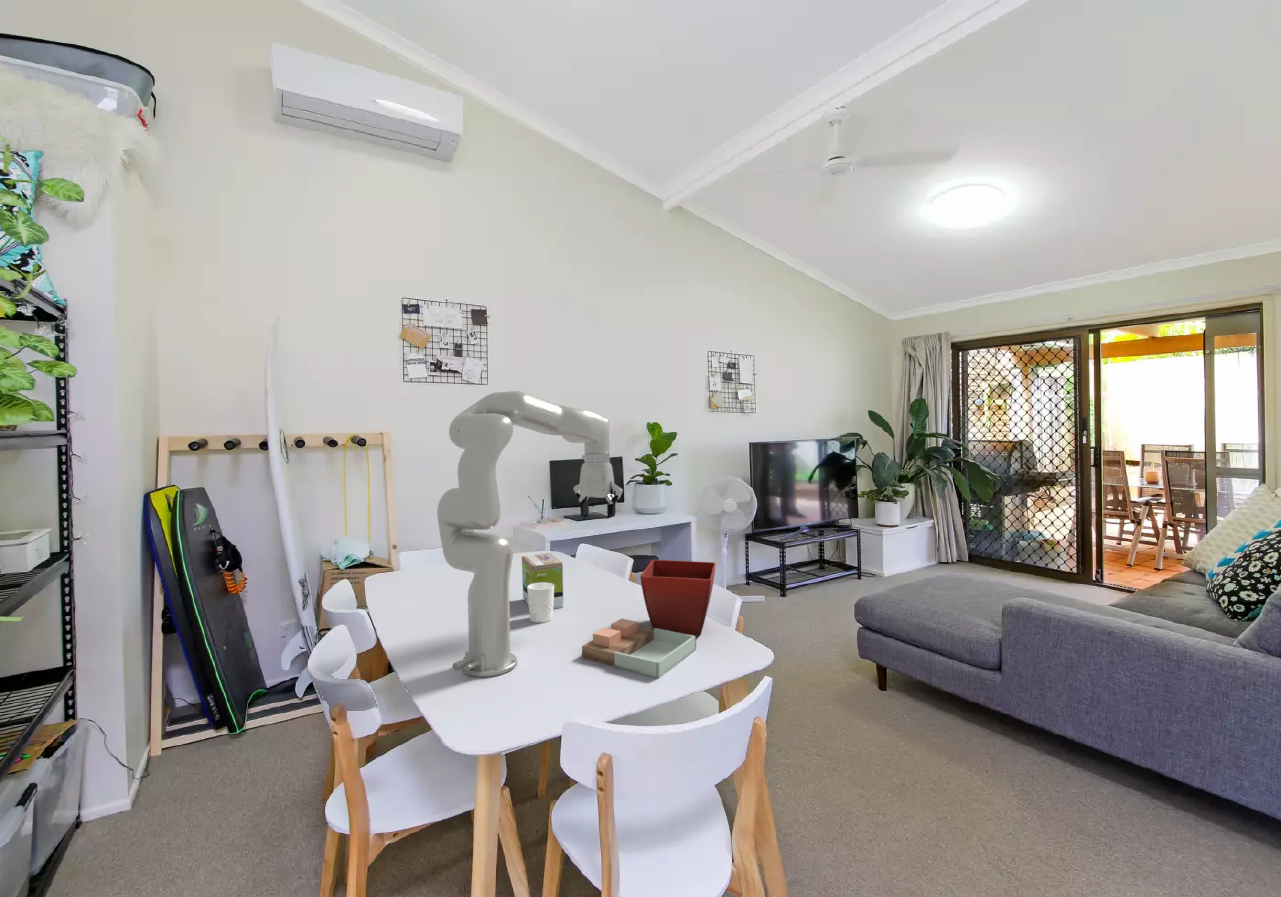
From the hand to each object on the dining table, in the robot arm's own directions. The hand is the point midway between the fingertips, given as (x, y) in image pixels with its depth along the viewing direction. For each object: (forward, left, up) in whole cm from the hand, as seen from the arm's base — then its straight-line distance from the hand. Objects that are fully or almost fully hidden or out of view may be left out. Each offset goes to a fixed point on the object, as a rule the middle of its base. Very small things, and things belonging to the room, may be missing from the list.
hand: (597, 515), depth 171 cm
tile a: (-24, -19, -27) cm, 41 cm away
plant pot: (+2, -26, -30) cm, 40 cm away
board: (-20, -20, -30) cm, 41 cm away
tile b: (-16, -19, -27) cm, 37 cm away
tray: (-20, -31, -30) cm, 48 cm away
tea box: (0, +23, -30) cm, 38 cm away
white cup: (-12, +13, -30) cm, 35 cm away
